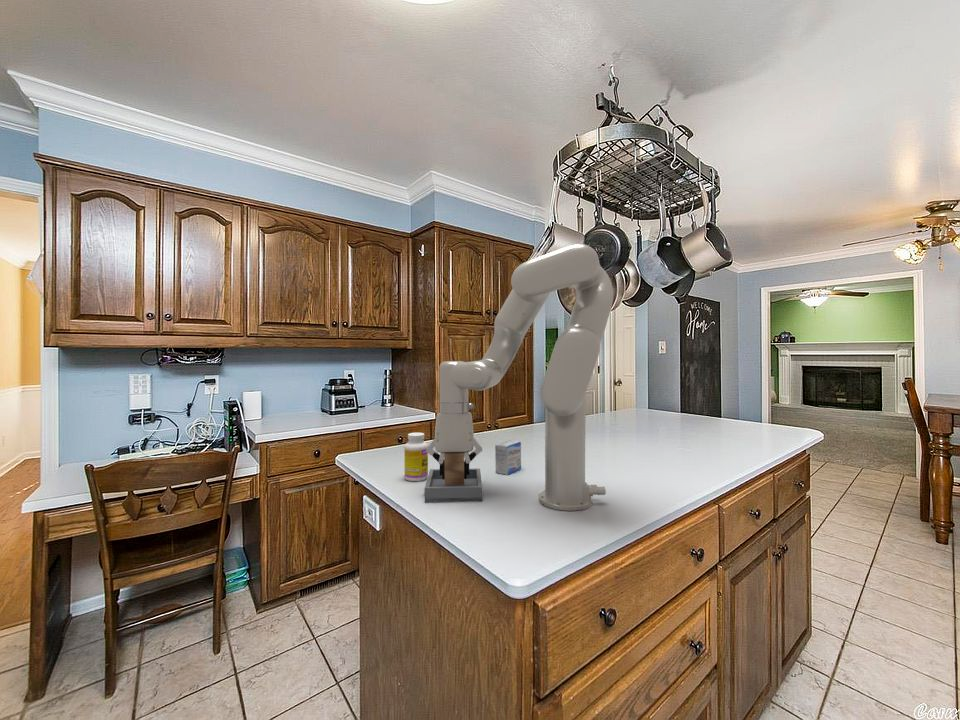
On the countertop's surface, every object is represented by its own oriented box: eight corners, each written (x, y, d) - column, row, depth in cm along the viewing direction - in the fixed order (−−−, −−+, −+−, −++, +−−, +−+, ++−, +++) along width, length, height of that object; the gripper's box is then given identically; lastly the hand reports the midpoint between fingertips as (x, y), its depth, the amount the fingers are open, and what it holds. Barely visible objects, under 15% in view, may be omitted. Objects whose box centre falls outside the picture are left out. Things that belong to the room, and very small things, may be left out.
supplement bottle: (424, 482, 115) (423, 436, 115) (401, 481, 116) (400, 436, 116) (430, 475, 121) (430, 432, 121) (409, 474, 123) (408, 431, 122)
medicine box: (507, 475, 121) (507, 446, 121) (495, 472, 124) (494, 444, 124) (521, 469, 127) (521, 441, 127) (509, 466, 130) (509, 439, 130)
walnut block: (464, 478, 110) (464, 449, 110) (464, 484, 105) (464, 453, 105) (445, 479, 110) (445, 449, 110) (444, 485, 105) (444, 453, 105)
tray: (480, 480, 116) (480, 468, 116) (482, 501, 100) (482, 487, 100) (430, 481, 116) (430, 469, 116) (424, 502, 100) (424, 488, 100)
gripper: (485, 406, 111) (486, 472, 112) (422, 406, 111) (423, 474, 111) (487, 410, 104) (487, 481, 104) (419, 410, 103) (420, 482, 104)
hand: (454, 476), depth 108 cm, fingers closed on walnut block, 5 cm apart
